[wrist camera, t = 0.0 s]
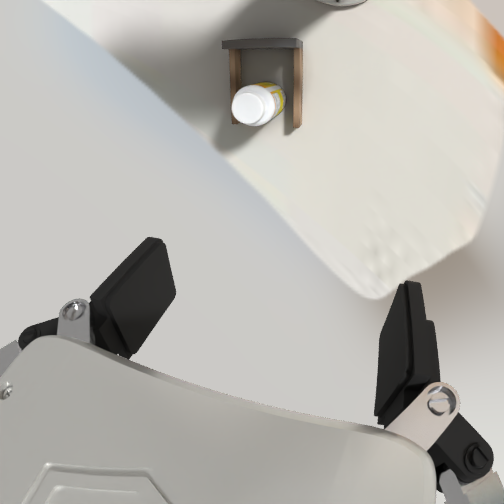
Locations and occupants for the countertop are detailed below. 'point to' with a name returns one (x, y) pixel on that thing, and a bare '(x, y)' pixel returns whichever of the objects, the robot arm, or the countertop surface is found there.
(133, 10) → the countertop surface
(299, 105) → the guide track
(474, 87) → the countertop surface
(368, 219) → the countertop surface
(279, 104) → the supplement bottle
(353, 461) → the robot arm
